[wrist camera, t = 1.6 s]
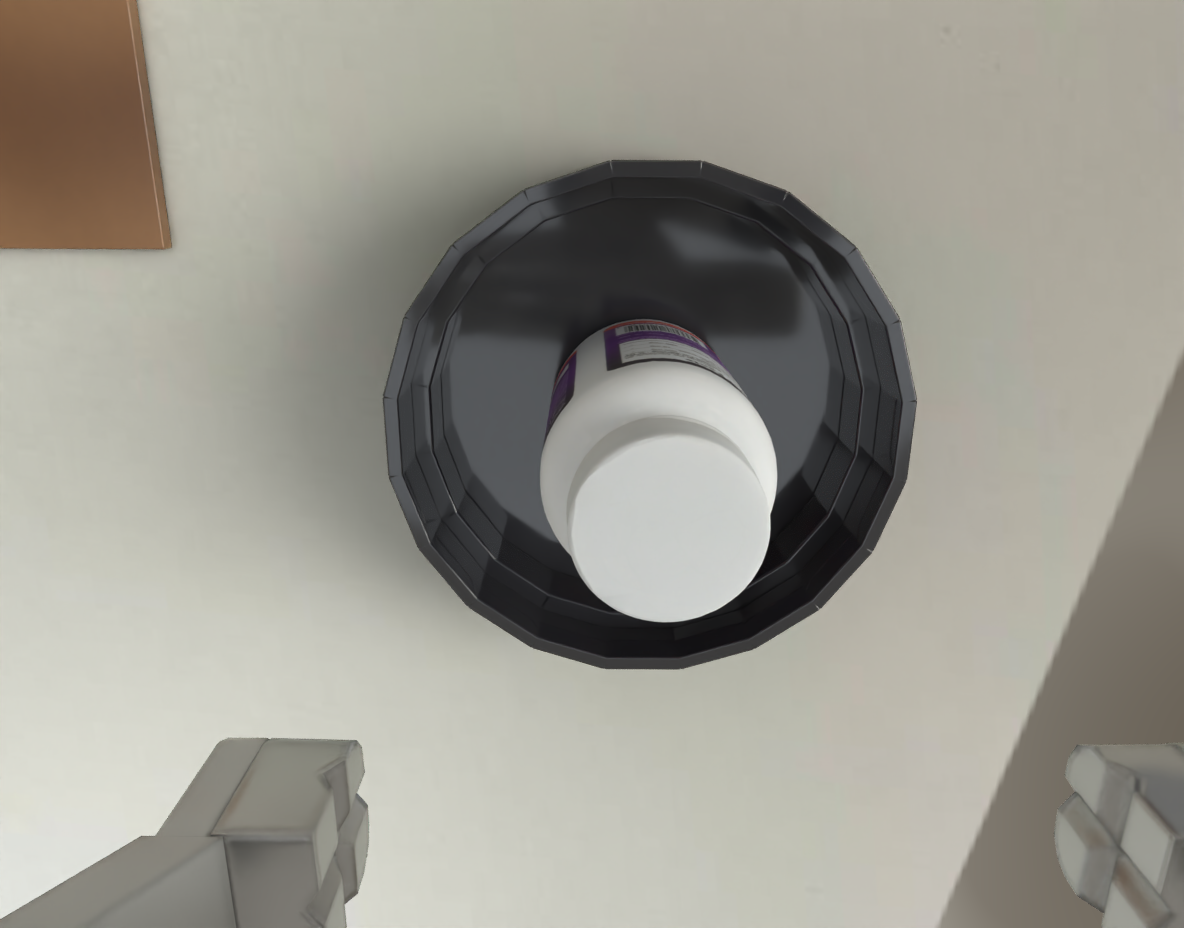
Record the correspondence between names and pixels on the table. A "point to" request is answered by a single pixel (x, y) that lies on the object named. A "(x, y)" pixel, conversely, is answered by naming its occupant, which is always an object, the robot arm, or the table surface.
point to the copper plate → (77, 129)
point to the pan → (674, 295)
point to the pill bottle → (657, 472)
